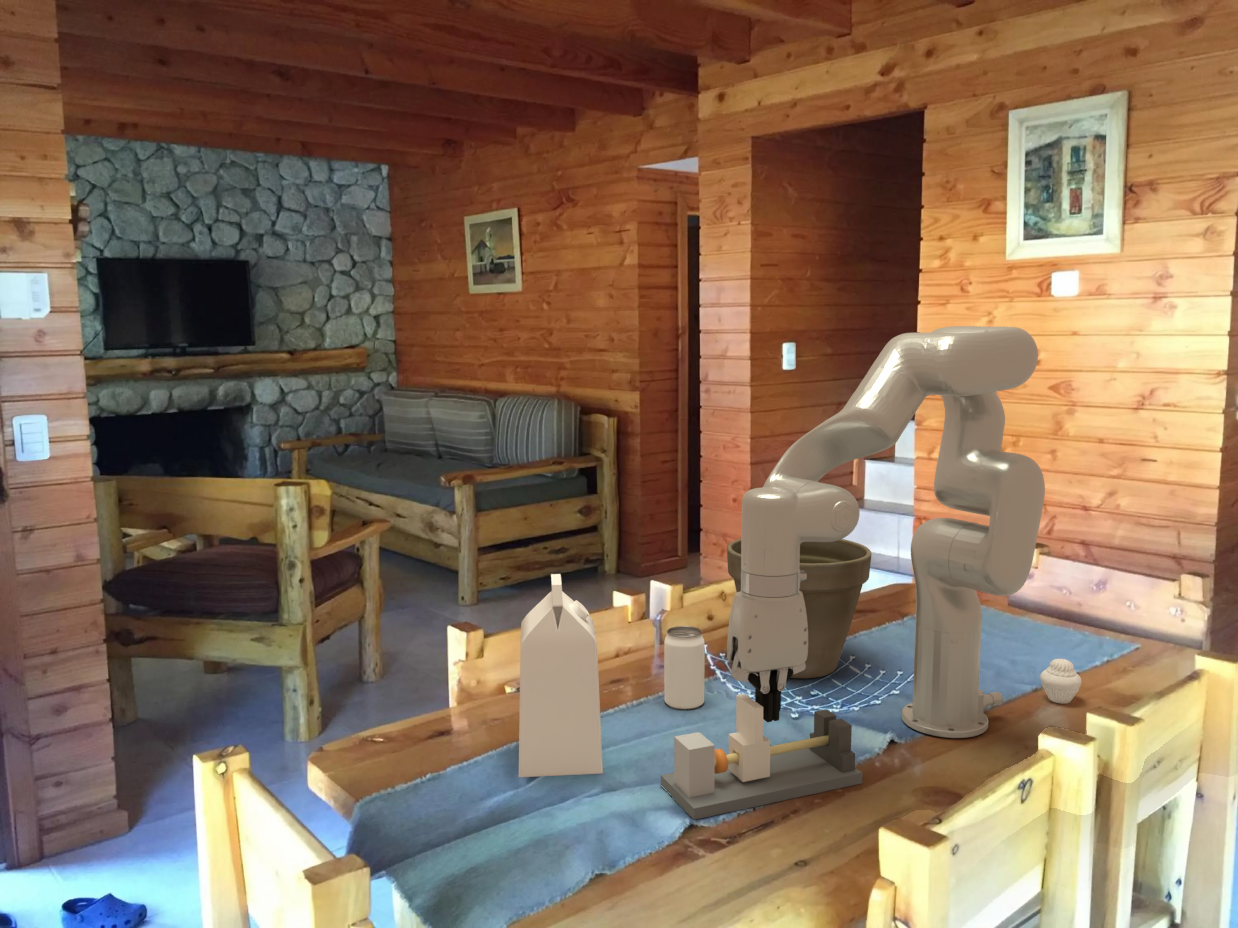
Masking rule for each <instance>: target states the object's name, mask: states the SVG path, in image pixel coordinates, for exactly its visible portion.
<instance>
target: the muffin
mask: <svg viewBox="0 0 1238 928" xmlns="http://www.w3.org/2000/svg"><path fill="white" fill-rule="evenodd" d="M1074 667H1075V666H1074V664H1073V663H1072V661H1070V660H1068V659H1065V658H1055V659H1052V660H1051V661H1050V662H1049V666H1047V667H1046V669H1044V670H1043V671H1042V672H1040V674H1039V675H1040V676H1039V679H1040V682H1041V687H1043V690H1044V691H1045V694H1046V696H1047V699H1048V700H1049V701H1051V702H1053V703H1055V704H1064V705H1065V704H1069V703H1071V702H1072V700H1073V699H1074V697H1075V696H1076V695H1077V693H1078V692H1079V690H1080V687H1081V685H1082V683H1083V682H1082V678H1081V676H1080V675H1079V674H1078V673H1077V672H1076V670H1075V668H1074Z"/></svg>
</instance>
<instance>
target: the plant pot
mask: <svg viewBox="0 0 1238 928" xmlns="http://www.w3.org/2000/svg"><path fill="white" fill-rule="evenodd" d="M726 555H727V559H726V560H727V572H728V574H729V576H730V578H733V582H734V586H735V591H736V592H741V538H739V539H738V538H737V539H736V540H733V541H730V542H729V543H728V545H727V546H726ZM871 562H872V551H871V550H870V548H868V547H867V546H865V545H864V544H861V543H859V542H857V541H853V540H849V539H846V538H845V539H844V538H843V539H841V540H838V541H834V542H802V543H801V544H800V565H799V569H800V571H803V570H804V571H805V572H806V574H807V579H806V580H805V581H801V582H800V588H799V591H801V592H802V593H803V597H804V602H805V607H806V614H807V623H808V656H807V659H806V661H805V664H806V668H805V670H803V671H801V672H799V673H796V674H793V675H792V676H791V677H790V679H814V678H820V677H826V676H827V675H830V674H832V673H833V672H834V671H835V670H836V669H837V667H838V664H839V662H840V659H841V655H842V653H843V650H844V647H845V643H846V640H847V637H848V635H849V634H848V633H849V631H850V629H851V625H852V622H853V619H854V615H855V612H856V609H857V607H858V602H859V599H860V595H861V592H862V589H863V586H864V585H863V584H866V583H867V581H869V578H870V571H871V565H872V564H871ZM736 592H735V593H736Z"/></svg>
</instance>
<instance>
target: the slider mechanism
mask: <svg viewBox="0 0 1238 928" xmlns="http://www.w3.org/2000/svg"><path fill="white" fill-rule="evenodd" d="M813 713H814V714H813V732H811V733H809V738H806V739H800V740H795V741H791V742H790V741H789V742H785V743H780V744H775V745H770V777H765V778H760V779H755V780H751V781H746V782H742V781H741V780H740V779H739V778H738V777H737V776H735V775H734V774H733V773H732V772H731V771H730V770H729V769H728V764H731V763H736V762H739V753H732V754H729V753H728V754H726V752H725V751H724V749H722V748H717V749H716V747H715V746H716V745H715V744H714V743H713V742H712V741H711V740H709V739H708V738H707V737H705V736H704V735H703V734H702V732H698V731H697V732H692V733H687V734H683V735H682V734H681V735H676V736H674V737H673V739H674V740H673V741H674V742H673V743H674V744H673V745H674V747H673V749H674V752H673V753H674V754H673V755H674V756H673V757H674V760H673V761H674V768H673V769H674V771H673V772H669V773H664V774H660V786H661V785H662V786H663V787H664V788H665V789H666V790H667V791H668V792H669V793H670V794H671V796H672V797H673V798H672V797H671V796H670V797H671V798H672V799H673V800H674V799H675V800H674V801H675V802H676V803H677V804H678V805H679V806H680V807H681V808H682V809H683V811H685V813H687V815H688V816H689V817H690V818H692V820H694V821H695V820H700V819H703V818H708V817H709V818H710V817H712V816H713V817H714V816H718V815H721V814H722V815H723V814H726V813H732V812H737V811H740V810H746V809H751V808H754V807H760V806H764V805H769V804H773V803H778V802H783V801H787V800H792V799H797V798H801V797H802V798H803V797H806V796H810V795H815V794H819V793H825V792H829V791H833V790H834V791H835V790H837V789H842V788H848V787H852V786H857V785H861V784H863V772H862V771H861V770H859V769H858V768H856V753H855V752H854V751H853V750H852V735H853V733H852V728H853V726H852V724H851V723H850V722H848V721H846V720H845V719H843V718H838V719H837V715H836V714H835V713H834V712H832V711H830V710H829V709H825V708H824V709H820V710H815V711H814V712H813ZM662 786H661V787H662ZM663 787H662V788H663ZM664 788H663V789H664ZM665 789H664V790H665Z"/></svg>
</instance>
